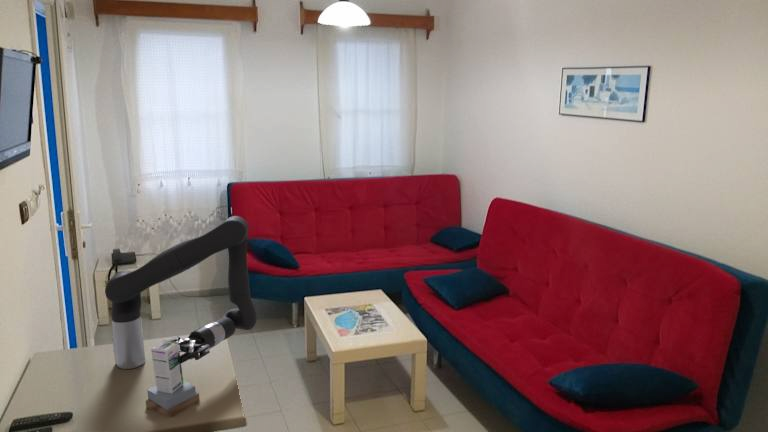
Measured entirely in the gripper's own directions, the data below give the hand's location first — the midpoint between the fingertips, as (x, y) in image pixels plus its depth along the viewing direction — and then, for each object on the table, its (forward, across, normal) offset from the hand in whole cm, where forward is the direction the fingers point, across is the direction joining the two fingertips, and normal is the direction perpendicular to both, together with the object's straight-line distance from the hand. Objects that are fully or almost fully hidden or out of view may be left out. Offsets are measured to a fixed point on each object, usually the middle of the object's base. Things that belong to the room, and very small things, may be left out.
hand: (168, 357), depth 178 cm
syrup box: (0, 0, +10) cm, 10 cm away
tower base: (0, 0, +16) cm, 16 cm away
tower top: (0, 0, +13) cm, 13 cm away
